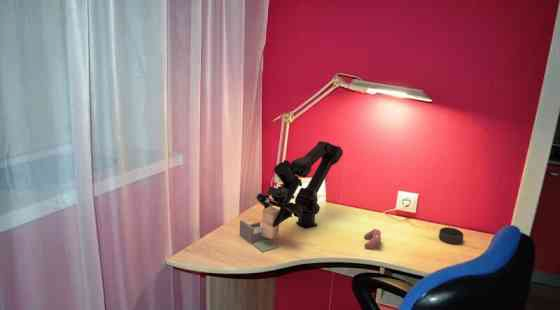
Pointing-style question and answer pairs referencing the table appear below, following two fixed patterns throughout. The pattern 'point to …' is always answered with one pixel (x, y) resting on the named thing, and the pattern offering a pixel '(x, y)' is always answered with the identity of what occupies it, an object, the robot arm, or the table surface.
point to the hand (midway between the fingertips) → (268, 224)
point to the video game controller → (374, 236)
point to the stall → (251, 232)
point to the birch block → (270, 222)
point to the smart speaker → (451, 235)
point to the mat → (265, 245)
